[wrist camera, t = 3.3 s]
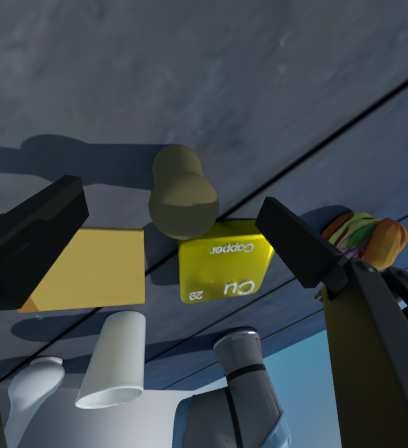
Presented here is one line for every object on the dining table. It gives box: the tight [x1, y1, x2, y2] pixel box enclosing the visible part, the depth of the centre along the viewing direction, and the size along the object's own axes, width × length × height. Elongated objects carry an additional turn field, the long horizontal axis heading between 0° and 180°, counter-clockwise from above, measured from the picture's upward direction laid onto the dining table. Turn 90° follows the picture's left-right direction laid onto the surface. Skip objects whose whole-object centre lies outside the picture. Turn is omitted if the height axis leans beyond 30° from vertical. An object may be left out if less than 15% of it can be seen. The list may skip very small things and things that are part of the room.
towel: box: [17, 227, 145, 313], centre depth 25 cm, size 18×20×1 cm
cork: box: [148, 144, 219, 240], centre depth 15 cm, size 6×6×11 cm
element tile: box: [177, 219, 275, 304], centre depth 28 cm, size 15×15×5 cm
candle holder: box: [75, 311, 146, 409], centre depth 31 cm, size 10×10×12 cm
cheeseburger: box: [322, 212, 408, 270], centre depth 29 cm, size 10×11×10 cm
